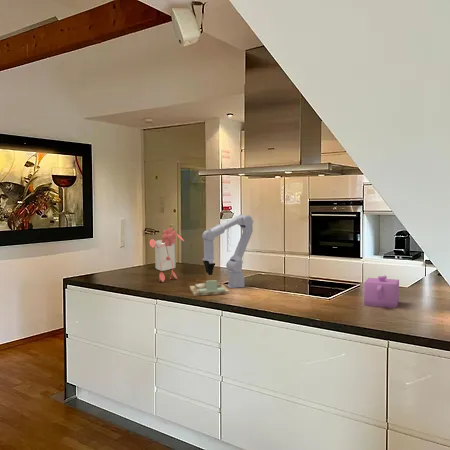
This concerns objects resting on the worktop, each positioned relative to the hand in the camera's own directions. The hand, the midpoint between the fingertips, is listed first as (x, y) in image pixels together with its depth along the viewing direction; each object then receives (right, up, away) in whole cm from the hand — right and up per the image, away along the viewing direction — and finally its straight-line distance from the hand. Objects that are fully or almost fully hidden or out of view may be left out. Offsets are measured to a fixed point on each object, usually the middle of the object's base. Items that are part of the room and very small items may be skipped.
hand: (209, 273), depth 277 cm
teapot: (+89, -11, -39) cm, 98 cm away
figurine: (-26, -8, +27) cm, 38 cm away
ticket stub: (+2, -9, -12) cm, 15 cm away
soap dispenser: (-37, -5, +76) cm, 84 cm away
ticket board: (0, -10, -3) cm, 10 cm away
